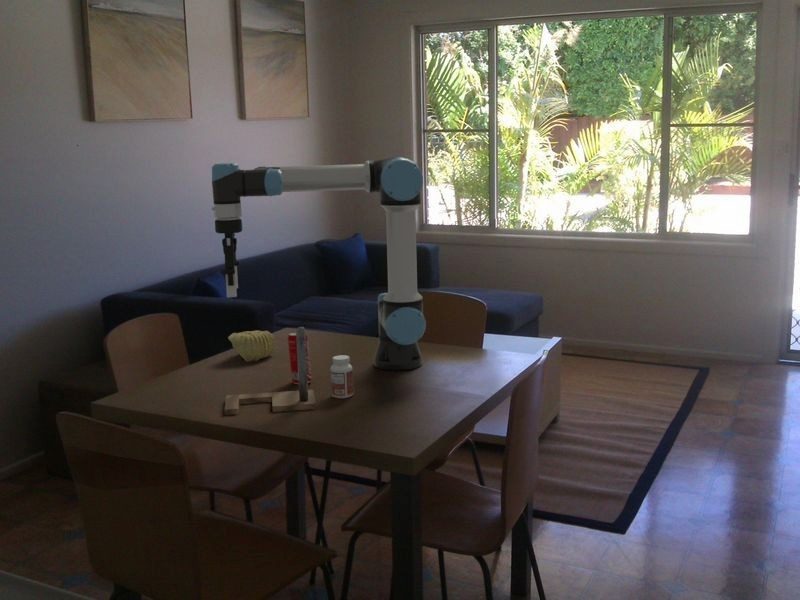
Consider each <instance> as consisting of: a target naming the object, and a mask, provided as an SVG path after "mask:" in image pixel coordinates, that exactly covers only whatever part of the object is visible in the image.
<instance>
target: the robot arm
mask: <svg viewBox="0 0 800 600" xmlns="http://www.w3.org/2000/svg"><path fill="white" fill-rule="evenodd" d="M212 165H213V166H211V185H212V188H211V189H212V197H213V206H212V207H211V211H214V218H216V219H215V220H214V226H215V227H214V230H215V233H217V234H220V235H221V234H224V238H222V240H221V243H222V248H223V249H222V251H223V255H224V270H223V271H222V275H225V286H226V287H225V289H226V298H237V296H238V293H237V289H239V281H238V279H239V278H238V266H240V263H239V261H238V260H237V244H238V241H237V237H235V236H236V234H238V233H241V232H242V231H243V220H242V218H241V217H242V202H241V198H243V197H244V198H245V197H273V196H274V197H275V196H281V195H282V194H283V193H291V192H292V193H294V192H295V193H297V192H325V191H326V192H330V191H331V192H332V191H355V190H356V191H358V190H359V191H360V190H364V191H366V193H369V194H370V193H374V194H375V193H377V194H380V195H379V196H380V197H379V198H380V207H382V209H384V210H385V217H386V218H385V221H386V224H385V225H386V228H385V229H386V258H387V262H386V263H387V265H386V266H387V292H384V293H383V292H382V293H379V294H378V296H377V307H378V308H377V313H378V315H377V316H378V320H377V321H378V343H377V347H376V350H375V354H374V356H373V364H374V365H373V366H374V367H375V368H378V369H380V370H385V371H407V370H412V369H413V370H414V369H416V368H419V367H421V366H422V365H423V355H422V353H421V350H420V347H419V345H418V341H419V340H421V338H422V337H423V336H424V333H425V332H426V326H427V322H426V318H425V315H424V303H423V301H424V299H423V296H422V294H420V293H419V291H418V268H417V266H418V263H417V262H418V261H417V257H418V256H417V221H416V220H417V218H416V211H417V209H418V208H419V207H420V206H421V205H422V204H421V203H422V201H421V199H422V197H421V195H422V194H421V191H422V188H423V183H424V177H423V173H422V171H421V169H420V167H419V166H418V164H417V163H416V162H415V161H413V160H412V159H410V158H407V157H400V156H392V157H387V158H381V159H373V160H366V161H365V162H364V163H356V164H355V163H351V164H329V165H328V164H327V165H326V164H325V165H324V164H323V165H322V164H321V165H297V166H292V165H291V166H267V167H266V166H258V167H255V168H254V169H240V167H239V164H238V163H236V162H225V163H224V162H221V163H214V164H212Z"/></svg>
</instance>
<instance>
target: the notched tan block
mask: <svg viewBox="0 0 800 600" xmlns="http://www.w3.org/2000/svg"><path fill="white" fill-rule="evenodd" d="M260 403H272V405H271V406H272V412H273V413H276V412H288V411H291V412H292V411H303V410H317V404H316V398H315V392H314V389H308V401H306V402H301V401H300V400H299V390H289V391H288V390H287V391H274V392H260V393H259V392H257V393H244V394H243V393H242V394H241V393H240V394H231V395H230V394H228V395H226V397H225V404H224V416H230V415H231V416H232V415H239V413H240V412H239V411H240V405H247V404H260Z"/></svg>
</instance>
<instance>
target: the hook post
mask: <svg viewBox="0 0 800 600" xmlns="http://www.w3.org/2000/svg"><path fill="white" fill-rule="evenodd" d="M295 332H296V338H297V359H298V379H299V384H298V391H299V400H300V401H301V402H306V401H308V390H309V383H308V380H307V358H306V337H305V332H306V329H305V327H304V326H298V327H297V329H296V330H295Z"/></svg>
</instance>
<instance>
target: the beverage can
mask: <svg viewBox="0 0 800 600" xmlns="http://www.w3.org/2000/svg"><path fill="white" fill-rule="evenodd" d="M305 337H306V358H307V380H308V384H309V383H311V382H312V380H313V379H312V370H311V361H310V352H309V350H310V349H309V339H308V334H307V333H306V331H305ZM287 344H288V353H289V362H290V373H291V382H292V383H293V384H294V385H299V379H298V359H297V338H296V331H293V332H289V333H288V337H287Z"/></svg>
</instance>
